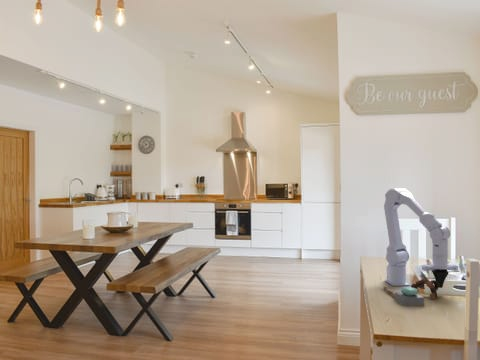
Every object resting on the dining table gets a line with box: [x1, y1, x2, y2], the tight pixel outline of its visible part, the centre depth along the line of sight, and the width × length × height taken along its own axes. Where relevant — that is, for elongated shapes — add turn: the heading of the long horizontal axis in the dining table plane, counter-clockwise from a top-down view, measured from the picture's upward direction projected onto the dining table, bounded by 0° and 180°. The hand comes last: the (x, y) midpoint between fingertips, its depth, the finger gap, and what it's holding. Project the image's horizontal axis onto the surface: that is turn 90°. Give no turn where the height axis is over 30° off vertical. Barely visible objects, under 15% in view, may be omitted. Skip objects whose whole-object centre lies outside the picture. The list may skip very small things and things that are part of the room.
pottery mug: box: [410, 278, 439, 301], centre depth 170 cm, size 12×10×8 cm
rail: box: [383, 286, 395, 299], centre depth 171 cm, size 14×1×2 cm, turn 2°
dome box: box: [394, 291, 425, 307], centre depth 161 cm, size 8×8×3 cm
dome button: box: [400, 286, 419, 296], centre depth 161 cm, size 6×6×4 cm
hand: (439, 287), depth 172 cm, fingers closed
